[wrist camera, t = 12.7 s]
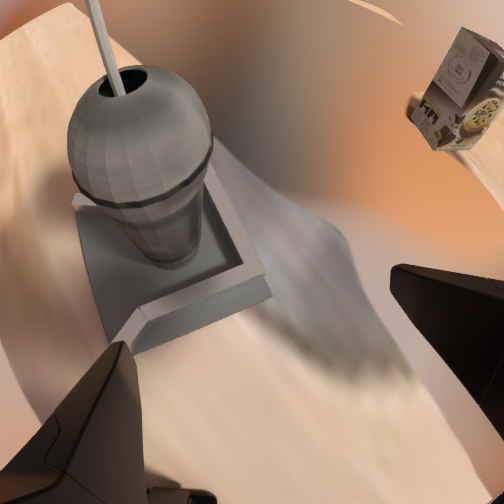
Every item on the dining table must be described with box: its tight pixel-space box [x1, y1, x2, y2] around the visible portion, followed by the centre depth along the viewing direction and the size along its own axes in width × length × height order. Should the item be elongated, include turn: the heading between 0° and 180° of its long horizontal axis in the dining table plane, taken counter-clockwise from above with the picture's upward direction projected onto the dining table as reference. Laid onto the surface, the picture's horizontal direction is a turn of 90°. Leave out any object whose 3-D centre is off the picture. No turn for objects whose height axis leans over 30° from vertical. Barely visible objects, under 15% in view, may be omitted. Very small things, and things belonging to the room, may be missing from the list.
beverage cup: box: [67, 0, 213, 270], centre depth 15 cm, size 7×7×20 cm
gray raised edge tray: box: [75, 189, 273, 356], centre depth 24 cm, size 13×14×1 cm
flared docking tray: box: [71, 162, 266, 353], centre depth 23 cm, size 13×15×2 cm
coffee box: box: [411, 27, 504, 151], centre depth 27 cm, size 9×6×16 cm
